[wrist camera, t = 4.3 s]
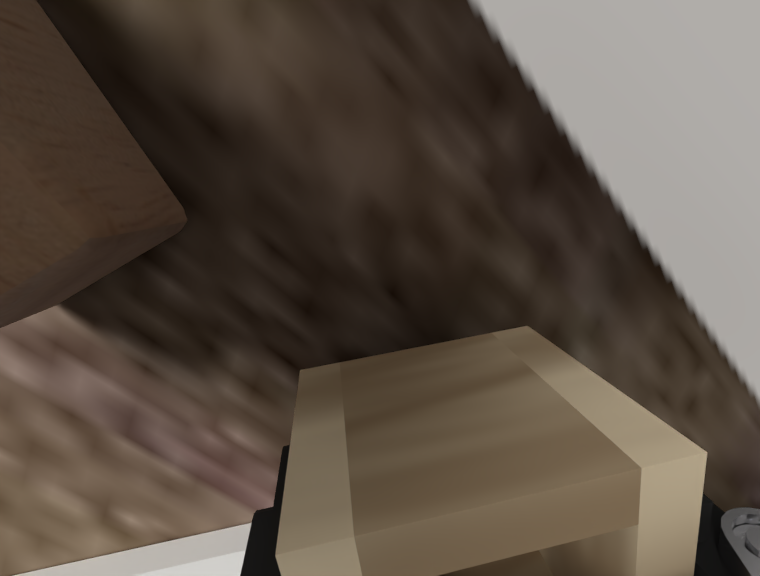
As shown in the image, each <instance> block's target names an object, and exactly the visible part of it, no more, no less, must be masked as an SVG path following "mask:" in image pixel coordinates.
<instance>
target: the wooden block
mask: <svg viewBox="0 0 760 576" xmlns="http://www.w3.org/2000/svg"><path fill="white" fill-rule="evenodd" d="M186 222H187V217H186V215H185V211H184V208H183V207H182V205H181V204H180V203H179V201H178V200H177V198H176V197H175V195H174V194H173V193H172V191H171V190H170V188H169V187H168V186H167V184H166V183H165V181H164V180H163V179H162V177H161V176H160V174H159V173H158V171H157V170H156V169H155V167H154V166H153V164H152V163H151V162H150V160H149V159H148V157H147V156H146V155H145V153H144V152H143V150H142V149H141V147H140V146H139V145H138V143H137V142H136V140H135V139H134V138H133V136H132V135H131V133H130V132H129V131H128V129H127V128H126V126H125V125H124V123H123V122H122V121H121V119H120V118H119V116H118V115H117V114H116V112H115V111H114V109H113V108H112V106H111V105H110V104H109V102H108V101H107V99H106V98H105V97H104V95H103V94H102V92H101V91H100V90H99V88H98V87H97V85H96V84H95V82H94V81H93V80H92V78H91V77H90V75H89V74H88V73H87V71H86V70H85V68H84V67H83V66H82V64H81V63H80V61H79V60H78V58H77V57H76V56H75V54H74V53H73V51H72V50H71V49H70V47H69V46H68V44H67V43H66V42H65V40H64V39H63V37H62V36H61V35H60V33H59V32H58V30H57V29H56V27H55V26H54V25H53V23H52V22H51V20H50V19H49V18H48V16H47V15H46V13H45V12H44V11H43V9H42V8H41V6H40V5H39V4H38V2H37V1H36V0H0V328H1V327H4V326H6V325H9V324H11V323H14V322H16V321H18V320H21V319H23V318H26V317H28V316H31V315H33V314H36V313H38V312H41V311H43V310H46V309H48V308H50V307H53V306H55V305H57V304H59V303H61V302H62V301H64V300H66V299H67V298H69V297H71V296H73V295H74V294H76V293H78V292H79V291H81V290H83V289H84V288H86V287H88V286H89V285H91V284H93V283H94V282H96V281H98V280H99V279H101V278H103V277H104V276H106V275H108V274H109V273H111V272H113V271H115V270H116V269H118V268H120V267H121V266H123V265H125V264H126V263H128V262H130V261H131V260H133V259H135V258H136V257H138V256H140V255H141V254H143V253H145V252H146V251H148V250H150V249H151V248H153V247H155V246H157V245H158V244H160V243H162V242H163V241H165V240H167V239H168V238H170V237H172V236H173V235H175V234H177V233H178V232H180V231H181V230H182V228H183V227H184V225H185V224H186Z"/></svg>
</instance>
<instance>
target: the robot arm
mask: <svg viewBox="0 0 760 576" xmlns="http://www.w3.org/2000/svg"><path fill="white" fill-rule="evenodd" d="M289 449H290V445H287V446H284V447H283V450H282V455H281V462H280V468H279V474H278V481H277V487H276V493H275V499H274V506H273V507H270V508H266V509H262V510H257V511H256V512H255V513H254V516H253V519H252V523H251V528H250V533H249V537H248V542H247V547H246V551H245V556H244V561H243V565H242V570H241V574H240V576H281V573H280V570H279V566H278V563H277V559H276V556H275V554H276V546H277V539H278V531H279V524H280V516H281V509H282V501H283V494H284V486H285V479H286V471H287V464H288V456H289ZM694 576H760V509H755V508H749V507H746V508H734V509H731V510H729V511H726V513H725V512H723V511H722V510H721V509H720V508H718V507H717V506H716V505H715V504H714V503H713V501H712V500H710V499H709V498H708V497H707V496H705V495H704V494H703V496H702V505H701V514H700V523H699V532H698V541H697V549H696V558H695V567H694Z"/></svg>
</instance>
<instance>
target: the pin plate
mask: <svg viewBox="0 0 760 576" xmlns="http://www.w3.org/2000/svg"><path fill="white" fill-rule="evenodd" d="M250 528H251V523H248V524H244V525H239V526H235V527H230V528H226V529H221V530H217V531H212V532H208V533H203V534H199V535H194V536H190V537H185V538H181V539H176V540H172V541H167V542H163V543H158V544H154V545H149V546H145V547H140V548H136V549H131V550H126V551H122V552H117V553H113V554H108V555H104V556H99V557H95V558H90V559H86V560H81V561H77V562H72V563H68V564H63V565H59V566H54V567H50V568H45V569H41V570H36V571H32V572H27V573H23V574H18V575H14V576H240V574H241V570H242V565H243V561H244V556H245V551H246V547H247V542H248V537H249V533H250Z"/></svg>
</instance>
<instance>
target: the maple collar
mask: <svg viewBox="0 0 760 576" xmlns="http://www.w3.org/2000/svg"><path fill="white" fill-rule="evenodd" d="M706 460H707V452H706V451H705V450H703V449H702V448H700V447H699V446H698V445H696V444H695V443H693V442H692V441H690V440H689V439H688V438H686V437H685V436H683V435H682V434H681V433H679V432H678V431H676V430H675V429H673V428H672V427H671V426H669V425H668V424H666V423H665V422H663V421H662V420H661V419H659V418H658V417H656V416H655V415H654V414H652V413H651V412H649V411H648V410H646V409H645V408H644V407H642V406H641V405H639V404H638V403H637V402H635V401H634V400H632V399H631V398H629V397H628V396H627V395H625V394H624V393H622V392H621V391H619V390H618V389H617V388H615V387H614V386H612V385H611V384H610V383H608V382H607V381H605V380H604V379H602V378H601V377H600V376H598V375H597V374H595V373H594V372H592V371H591V370H590V369H588V368H587V367H585V366H584V365H583V364H581V363H580V362H578V361H577V360H575V359H574V358H573V357H571V356H570V355H568V354H567V353H565V352H564V351H563V350H561V349H560V348H558V347H557V346H556V345H554V344H553V343H551V342H550V341H548V340H547V339H546V338H544V337H543V336H541V335H540V334H539V333H537V332H536V331H534V330H533V329H531V328H530V327H529V326H524V327H519V328H513V329H508V330H503V331H498V332H493V333H488V334H483V335H478V336H473V337H467V338H462V339H457V340H452V341H447V342H442V343H437V344H432V345H426V346H421V347H416V348H411V349H406V350H401V351H396V352H391V353H385V354H380V355H375V356H370V357H365V358H360V359H355V360H350V361H344V362H339V363H334V364H329V365H324V366H319V367H314V368H309V369H303V370H300V374H299V381H298V389H297V396H296V404H295V411H294V419H293V426H292V434H291V441H290V449H289V456H288V464H287V471H286V479H285V486H284V494H283V501H282V509H281V516H280V524H279V531H278V539H277V546H276V554H275V556H276V559H277V563H278V566H279V570H280V573H281V576H694V567H695V558H696V549H697V541H698V532H699V523H700V514H701V505H702V496H703V487H704V478H705V469H706Z"/></svg>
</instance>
